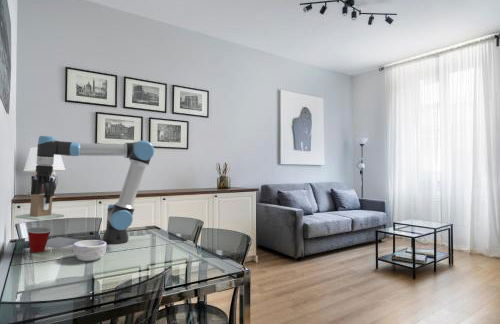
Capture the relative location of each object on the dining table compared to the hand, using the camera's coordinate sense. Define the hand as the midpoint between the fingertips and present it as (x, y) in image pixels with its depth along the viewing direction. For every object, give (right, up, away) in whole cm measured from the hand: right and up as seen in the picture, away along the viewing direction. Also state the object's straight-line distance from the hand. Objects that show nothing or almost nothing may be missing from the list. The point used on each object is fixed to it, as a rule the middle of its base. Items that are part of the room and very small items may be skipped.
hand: (41, 209), depth 162 cm
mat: (-2, -23, +18) cm, 29 cm away
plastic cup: (-1, -23, 0) cm, 23 cm away
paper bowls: (+28, -24, -5) cm, 38 cm away
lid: (0, -4, 0) cm, 4 cm away
